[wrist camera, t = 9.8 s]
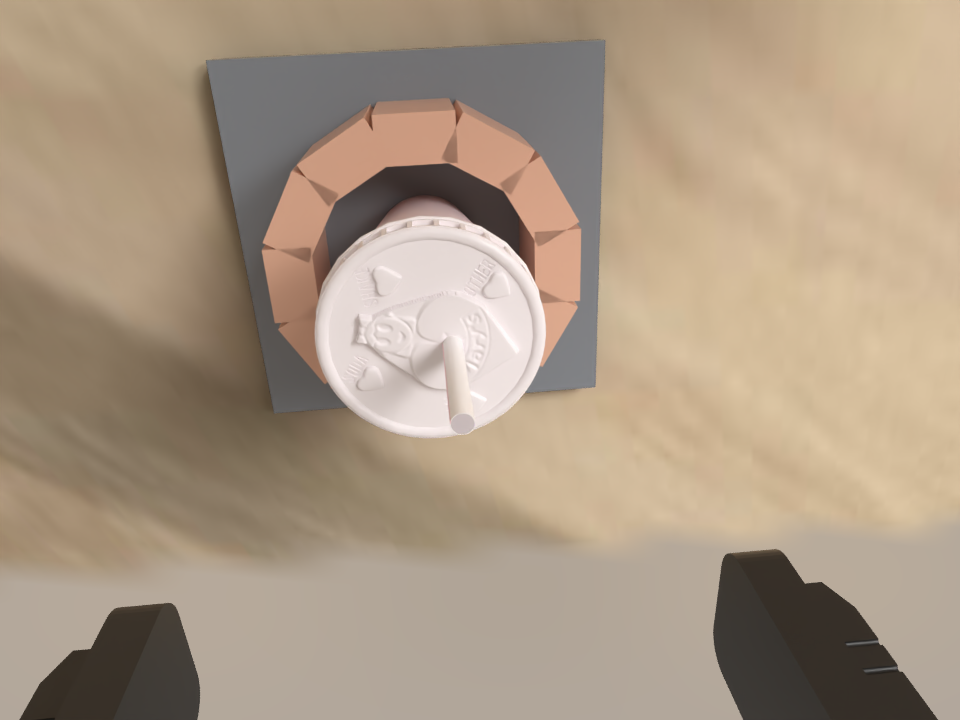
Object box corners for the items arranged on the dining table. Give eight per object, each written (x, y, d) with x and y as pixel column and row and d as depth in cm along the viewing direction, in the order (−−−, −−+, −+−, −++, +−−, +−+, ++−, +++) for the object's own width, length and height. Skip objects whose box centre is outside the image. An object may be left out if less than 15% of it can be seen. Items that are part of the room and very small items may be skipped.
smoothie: (488, 328, 30) (545, 551, 17) (333, 305, 29) (273, 524, 16) (521, 175, 27) (617, 305, 15) (352, 143, 26) (299, 255, 14)
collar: (598, 39, 26) (637, 43, 22) (590, 377, 32) (619, 434, 28) (213, 59, 26) (171, 67, 21) (277, 402, 32) (255, 465, 27)
